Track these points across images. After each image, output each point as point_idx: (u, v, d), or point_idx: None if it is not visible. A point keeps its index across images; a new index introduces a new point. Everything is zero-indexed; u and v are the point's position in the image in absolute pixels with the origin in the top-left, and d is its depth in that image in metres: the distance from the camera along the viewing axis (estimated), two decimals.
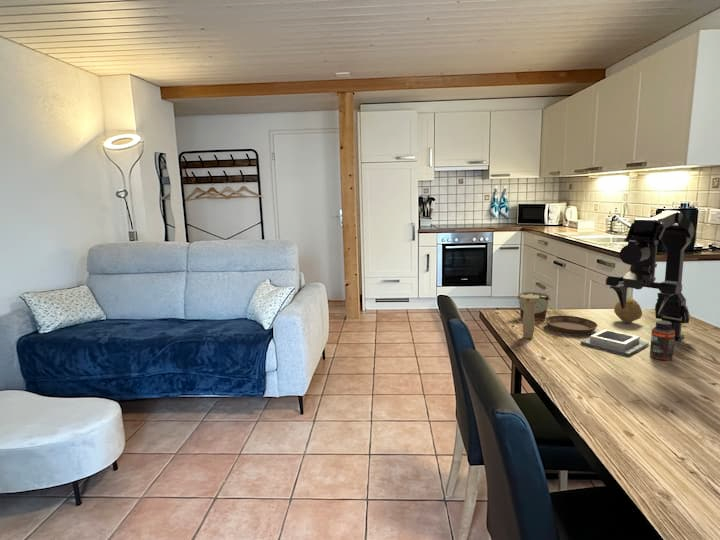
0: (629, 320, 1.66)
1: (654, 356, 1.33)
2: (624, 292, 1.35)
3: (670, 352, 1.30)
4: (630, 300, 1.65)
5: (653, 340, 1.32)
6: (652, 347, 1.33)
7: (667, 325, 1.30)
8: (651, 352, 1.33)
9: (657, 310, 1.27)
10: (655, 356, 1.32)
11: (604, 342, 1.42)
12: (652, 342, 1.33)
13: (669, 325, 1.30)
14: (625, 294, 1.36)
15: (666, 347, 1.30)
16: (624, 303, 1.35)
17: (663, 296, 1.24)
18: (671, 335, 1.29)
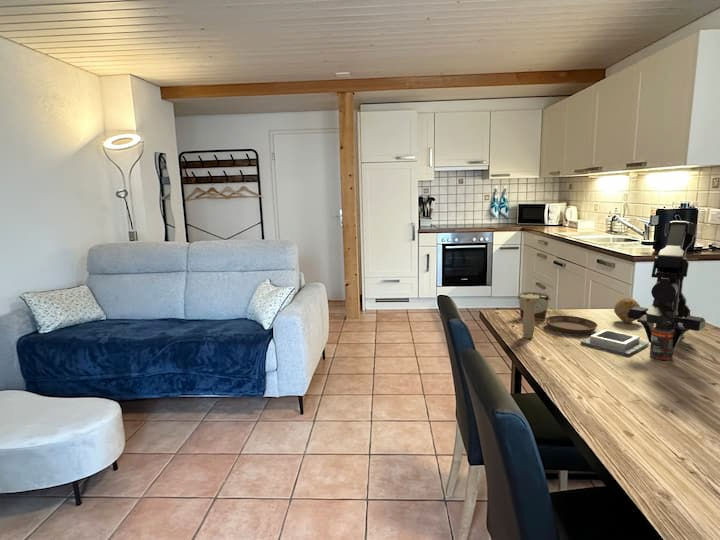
0: (629, 320, 1.66)
1: (654, 356, 1.33)
2: (651, 326, 1.35)
3: (670, 352, 1.30)
4: (630, 300, 1.65)
5: (653, 340, 1.32)
6: (652, 347, 1.33)
7: (667, 325, 1.30)
8: (651, 352, 1.33)
9: (674, 343, 1.30)
10: (655, 356, 1.32)
11: (604, 342, 1.42)
12: (652, 342, 1.33)
13: (669, 325, 1.30)
14: (652, 328, 1.35)
15: (666, 346, 1.30)
16: None
17: (680, 331, 1.26)
18: (671, 335, 1.29)
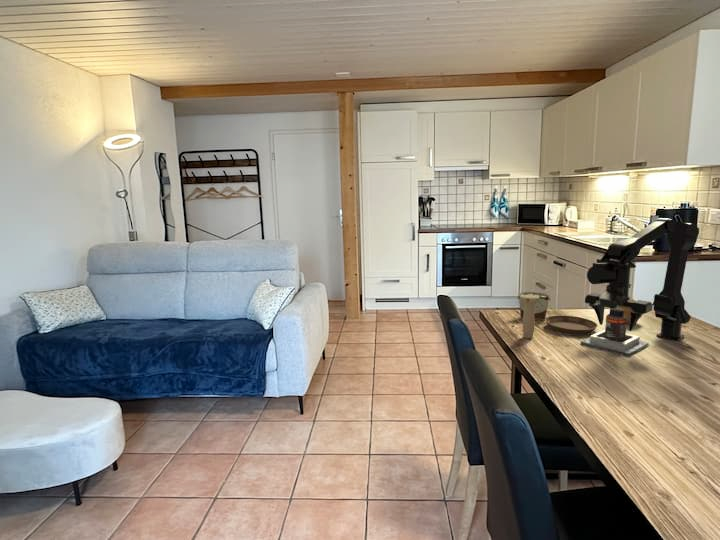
0: (629, 320, 1.66)
1: None
2: (601, 310, 1.48)
3: (622, 337, 1.42)
4: (630, 300, 1.65)
5: (607, 325, 1.44)
6: (606, 332, 1.45)
7: (619, 312, 1.41)
8: (605, 337, 1.45)
9: (630, 327, 1.40)
10: None
11: (604, 342, 1.42)
12: (606, 328, 1.44)
13: (621, 312, 1.41)
14: (602, 312, 1.48)
15: (618, 331, 1.42)
16: (602, 320, 1.48)
17: (635, 315, 1.37)
18: (622, 321, 1.41)
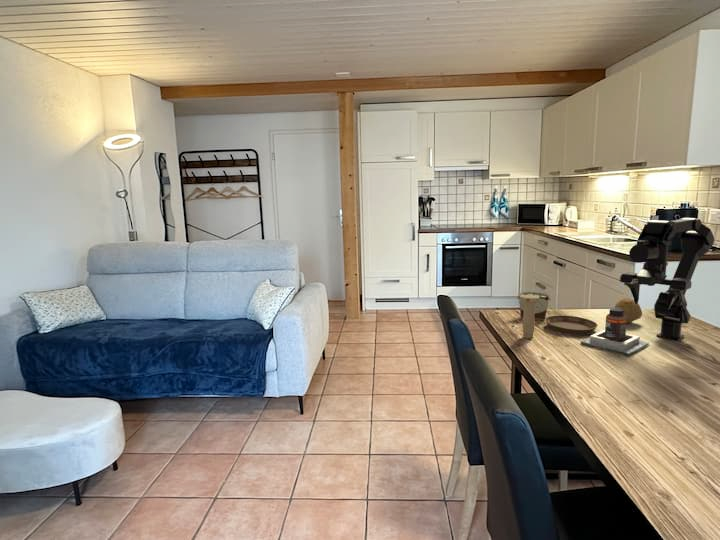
0: (629, 320, 1.66)
1: None
2: (637, 289, 1.46)
3: (622, 337, 1.42)
4: (630, 300, 1.65)
5: (607, 325, 1.44)
6: (606, 332, 1.45)
7: (619, 312, 1.41)
8: (605, 337, 1.45)
9: (668, 305, 1.38)
10: None
11: (604, 342, 1.42)
12: (606, 328, 1.45)
13: (621, 312, 1.41)
14: (638, 291, 1.46)
15: (618, 331, 1.42)
16: (637, 299, 1.46)
17: (674, 292, 1.35)
18: (622, 321, 1.41)
